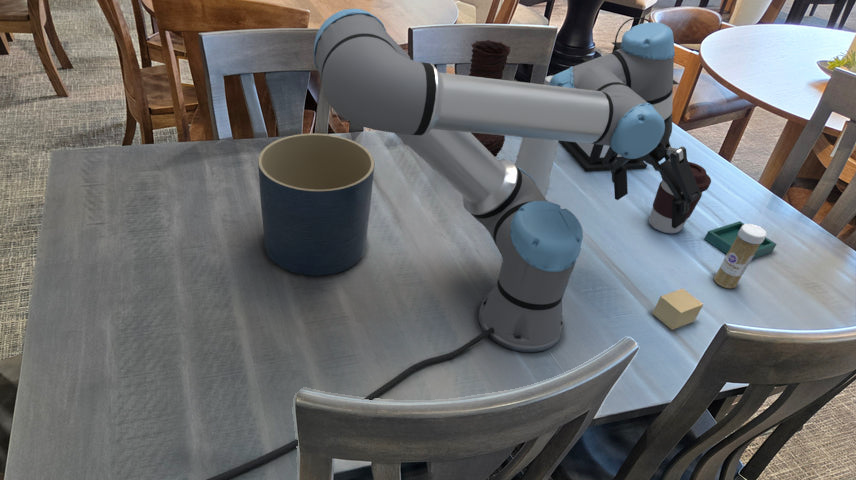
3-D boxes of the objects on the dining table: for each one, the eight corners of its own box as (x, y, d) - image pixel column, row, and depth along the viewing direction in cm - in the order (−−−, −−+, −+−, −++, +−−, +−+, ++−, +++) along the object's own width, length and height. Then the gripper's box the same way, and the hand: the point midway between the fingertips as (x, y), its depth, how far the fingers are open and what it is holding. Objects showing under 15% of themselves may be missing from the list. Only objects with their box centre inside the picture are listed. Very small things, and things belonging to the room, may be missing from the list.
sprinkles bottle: (709, 280, 131) (737, 227, 122) (719, 272, 133) (748, 220, 125) (730, 292, 128) (761, 239, 120) (740, 284, 130) (771, 231, 122)
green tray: (740, 263, 136) (744, 255, 135) (704, 239, 142) (708, 230, 141) (772, 252, 140) (777, 244, 138) (735, 229, 146) (739, 220, 145)
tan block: (672, 330, 119) (681, 312, 116) (651, 313, 122) (660, 296, 119) (694, 321, 121) (703, 304, 118) (674, 305, 124) (682, 288, 121)
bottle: (509, 211, 147) (540, 88, 128) (501, 190, 154) (529, 70, 135) (547, 212, 148) (584, 89, 128) (538, 191, 154) (571, 72, 135)
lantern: (585, 171, 163) (630, 34, 141) (557, 140, 176) (595, 10, 154) (645, 168, 166) (699, 34, 144) (614, 138, 179) (658, 10, 157)
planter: (378, 226, 139) (386, 144, 127) (351, 288, 123) (356, 200, 110) (284, 207, 143) (282, 125, 130) (245, 264, 127) (239, 177, 114)
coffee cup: (691, 240, 142) (719, 183, 132) (645, 233, 143) (670, 176, 133) (682, 216, 149) (708, 160, 140) (639, 210, 150) (662, 154, 141)
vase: (430, 151, 168) (446, 37, 148) (482, 145, 172) (505, 33, 152) (454, 180, 156) (475, 61, 137) (509, 173, 160) (537, 57, 141)
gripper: (729, 126, 100) (720, 226, 114) (608, 86, 118) (613, 176, 132) (695, 150, 99) (690, 248, 112) (578, 105, 117) (586, 195, 131)
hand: (648, 209), depth 122 cm, fingers open, 13 cm apart
